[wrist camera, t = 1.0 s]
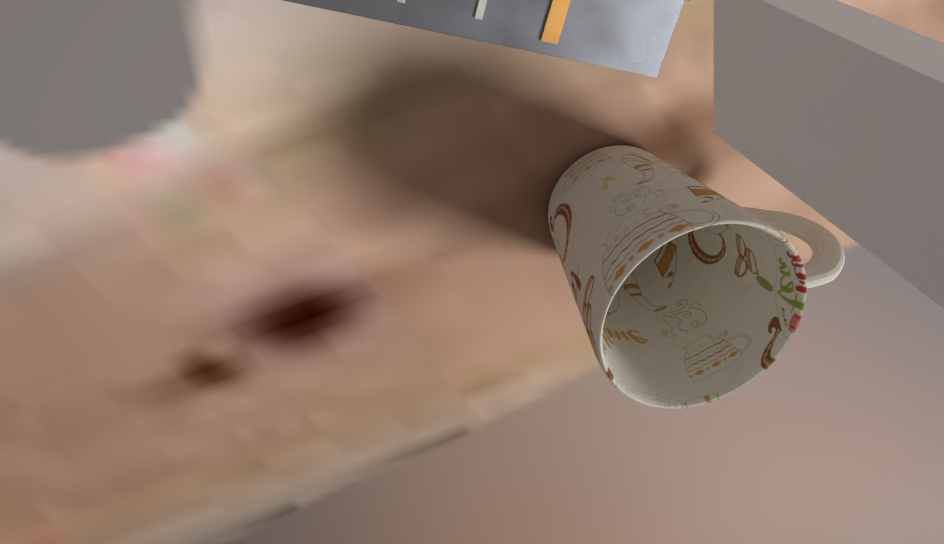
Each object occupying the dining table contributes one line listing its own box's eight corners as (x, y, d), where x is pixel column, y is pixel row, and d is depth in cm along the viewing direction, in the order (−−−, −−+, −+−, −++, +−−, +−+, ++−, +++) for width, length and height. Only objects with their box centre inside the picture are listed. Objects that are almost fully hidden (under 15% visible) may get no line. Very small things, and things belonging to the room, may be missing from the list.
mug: (521, 131, 38) (602, 239, 30) (785, 97, 40) (931, 188, 32) (523, 293, 42) (594, 427, 34) (762, 254, 44) (884, 371, 36)
